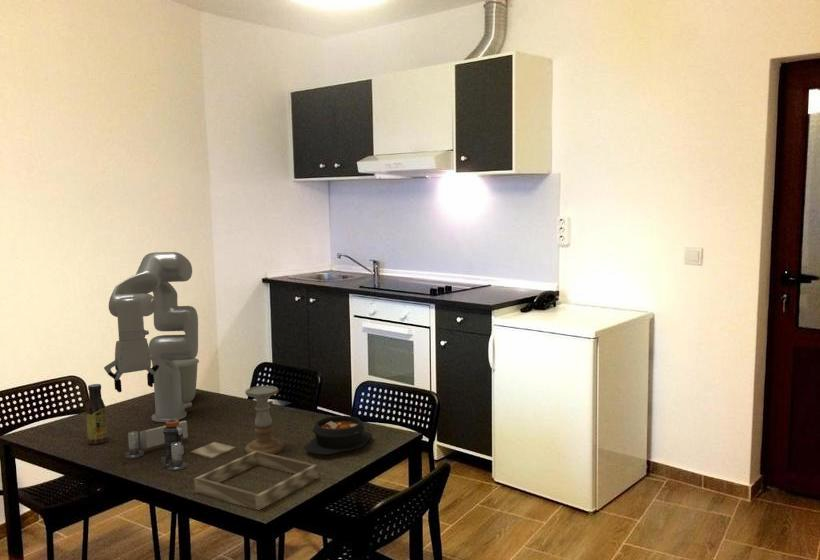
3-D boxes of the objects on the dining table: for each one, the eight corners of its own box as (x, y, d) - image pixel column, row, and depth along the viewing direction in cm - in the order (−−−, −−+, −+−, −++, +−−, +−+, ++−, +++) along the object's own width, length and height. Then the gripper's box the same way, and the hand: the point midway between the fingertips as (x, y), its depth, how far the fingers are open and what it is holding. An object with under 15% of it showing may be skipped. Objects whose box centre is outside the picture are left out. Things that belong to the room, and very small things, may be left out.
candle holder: (267, 440, 233) (264, 382, 230) (291, 448, 225) (288, 388, 223) (237, 451, 223) (234, 391, 221) (261, 459, 215) (258, 397, 213)
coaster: (214, 443, 230) (214, 441, 230) (235, 448, 225) (235, 447, 225) (190, 453, 222) (190, 451, 222) (212, 458, 217) (212, 457, 217)
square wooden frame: (256, 462, 213) (255, 450, 212) (318, 478, 200) (317, 464, 200) (194, 492, 192) (194, 478, 192) (259, 511, 179) (258, 496, 179)
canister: (146, 402, 280) (143, 352, 278) (187, 392, 293) (184, 344, 291) (168, 411, 268) (165, 358, 265) (209, 400, 281) (206, 350, 279)
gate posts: (120, 456, 220) (118, 434, 219) (136, 450, 225) (134, 428, 224) (176, 472, 207) (174, 448, 206) (191, 465, 212) (190, 442, 211)
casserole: (332, 465, 210) (331, 438, 209) (291, 452, 222) (290, 427, 221) (385, 441, 230) (384, 417, 229) (345, 431, 241) (344, 407, 240)
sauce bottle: (99, 445, 231) (95, 388, 228) (83, 444, 232) (79, 387, 229) (111, 439, 237) (108, 383, 235) (95, 438, 238) (91, 382, 236)
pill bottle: (187, 453, 222) (185, 419, 221) (172, 459, 217) (170, 425, 216) (175, 450, 225) (173, 416, 224) (160, 456, 220) (158, 422, 219)
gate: (142, 449, 222) (141, 433, 221) (139, 448, 223) (138, 431, 223) (188, 437, 233) (187, 421, 232) (185, 436, 234) (184, 420, 234)
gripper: (155, 331, 225) (158, 382, 226) (99, 337, 214) (103, 391, 216) (163, 334, 219) (166, 386, 220) (105, 341, 208) (109, 396, 210)
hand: (134, 388), depth 218 cm, fingers open, 9 cm apart
